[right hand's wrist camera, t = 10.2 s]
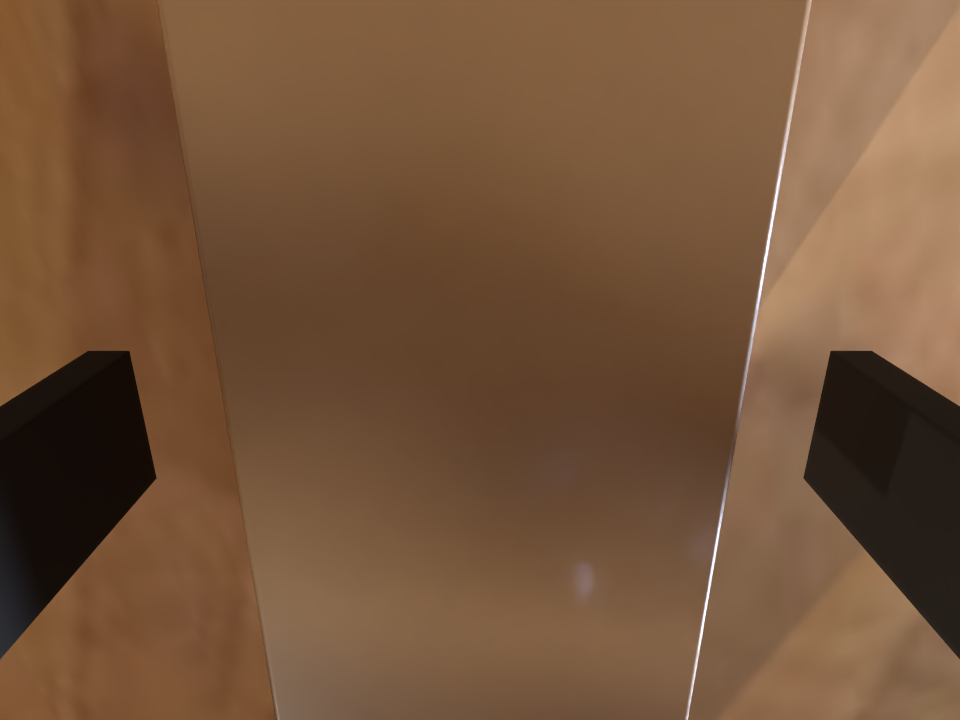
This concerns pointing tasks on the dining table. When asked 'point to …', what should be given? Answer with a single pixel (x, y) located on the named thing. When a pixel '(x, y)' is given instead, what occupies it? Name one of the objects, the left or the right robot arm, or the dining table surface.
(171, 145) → the dining table surface
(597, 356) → the wooden beam
